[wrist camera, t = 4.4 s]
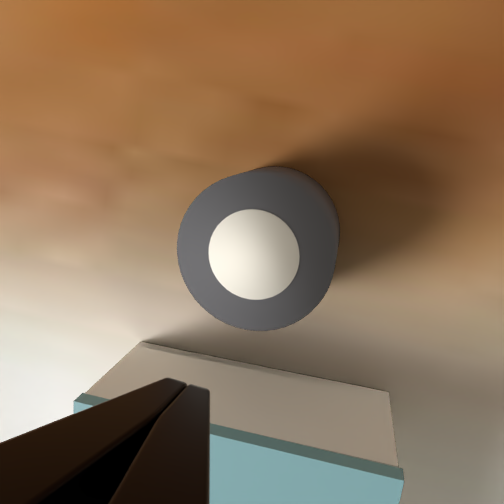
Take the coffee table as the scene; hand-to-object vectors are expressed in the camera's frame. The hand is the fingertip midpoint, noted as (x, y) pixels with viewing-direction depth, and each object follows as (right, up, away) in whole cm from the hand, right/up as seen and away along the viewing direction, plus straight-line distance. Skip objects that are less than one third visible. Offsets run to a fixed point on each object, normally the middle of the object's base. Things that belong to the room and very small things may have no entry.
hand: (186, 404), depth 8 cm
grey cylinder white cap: (+2, +4, +12) cm, 13 cm away
